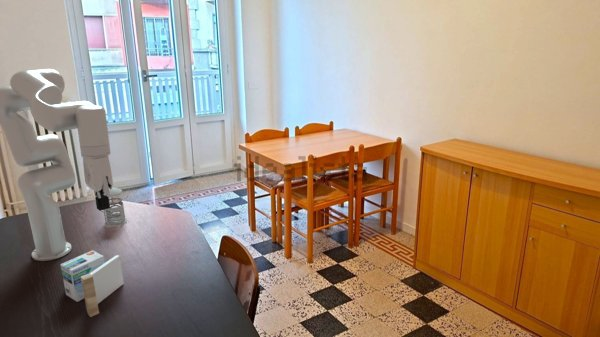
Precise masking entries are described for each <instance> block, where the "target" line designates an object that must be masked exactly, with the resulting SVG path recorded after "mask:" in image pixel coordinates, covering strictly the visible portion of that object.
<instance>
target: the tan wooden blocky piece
mask: <svg viewBox="0 0 600 337" xmlns="http://www.w3.org/2000/svg"><path fill="white" fill-rule="evenodd" d="M81 281H82V287H83V292H84V301H85V308H86V313H87V315H88V316H89V317H90V318H92V317H94V316H97V315H99V314H100V310H99V306H98V305H99V304H98V303H97V298H96V292H95V286H94V281H93V276H92V275H91V274H90V273H89V274H87V275H84V276H81Z"/></svg>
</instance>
